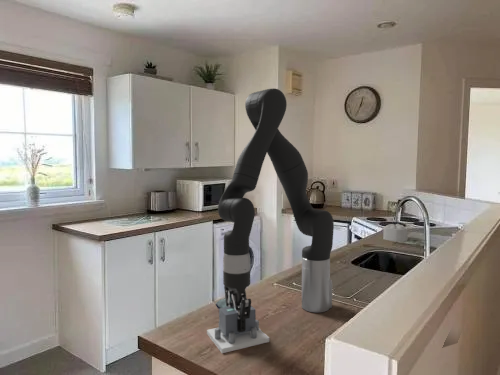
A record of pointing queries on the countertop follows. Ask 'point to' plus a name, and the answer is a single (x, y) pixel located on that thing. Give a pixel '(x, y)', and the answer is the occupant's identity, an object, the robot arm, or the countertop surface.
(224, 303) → the packaged food
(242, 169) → the robot arm
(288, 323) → the countertop surface
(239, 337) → the pegged holder plate
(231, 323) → the block
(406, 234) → the lumpy-topped squat cylinder
